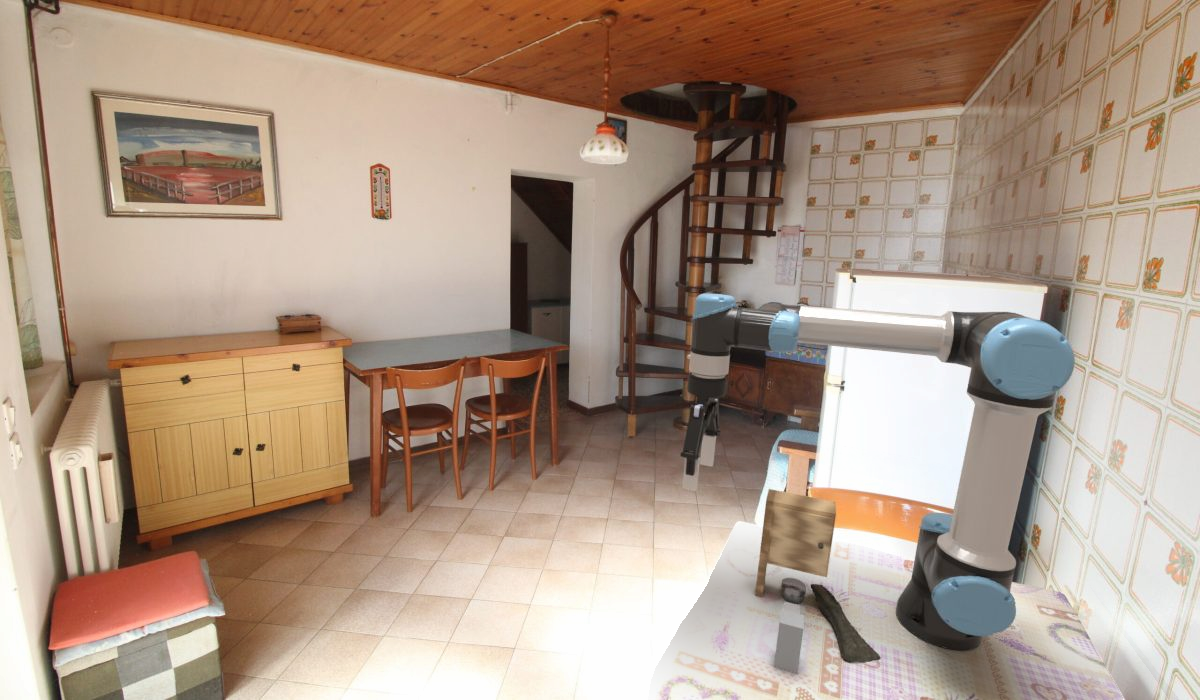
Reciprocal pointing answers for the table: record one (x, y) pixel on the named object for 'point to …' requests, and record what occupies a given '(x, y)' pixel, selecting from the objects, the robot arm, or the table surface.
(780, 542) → the wall cabinet
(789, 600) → the grey short cylinder
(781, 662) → the gray stepped block
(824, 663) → the table surface
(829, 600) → the tool
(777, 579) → the table surface
